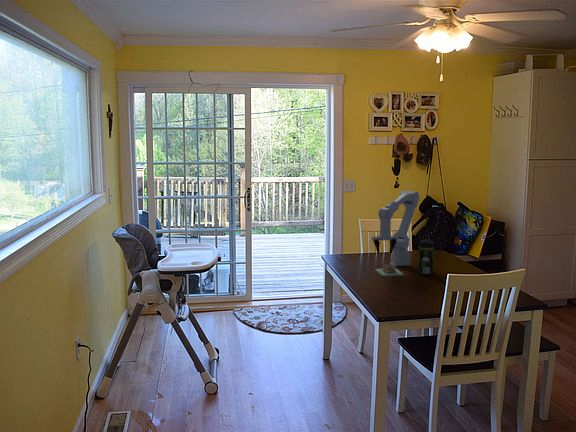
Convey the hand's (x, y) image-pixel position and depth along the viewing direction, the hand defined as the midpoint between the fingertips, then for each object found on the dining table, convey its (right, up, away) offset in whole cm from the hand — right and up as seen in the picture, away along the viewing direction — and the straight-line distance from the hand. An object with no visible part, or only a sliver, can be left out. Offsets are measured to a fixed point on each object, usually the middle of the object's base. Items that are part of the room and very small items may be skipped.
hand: (384, 252), depth 289 cm
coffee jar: (+21, -11, -6) cm, 25 cm away
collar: (+1, -9, -7) cm, 12 cm away
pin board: (+1, -11, -7) cm, 13 cm away
